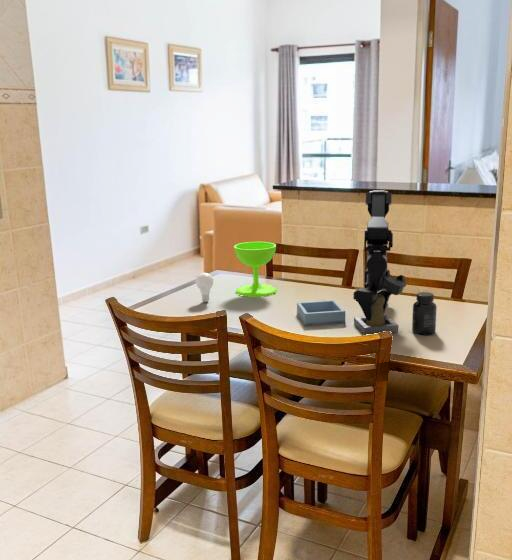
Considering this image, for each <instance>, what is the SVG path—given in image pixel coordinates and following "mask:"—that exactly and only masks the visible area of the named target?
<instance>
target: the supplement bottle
mask: <svg viewBox="0 0 512 560" xmlns="http://www.w3.org/2000/svg"><path fill="white" fill-rule="evenodd" d="M437 310H438V308H437V304H436V303H435V301H434V293H431V292H429V291H421V292H420V291H419V292H417V293H416V301H415V302H414V303H413V305H412V317H411V318H412V320H411V321H412V323H411V331H412V333H413V334H415V335H417V336H424V337H425V336H427V337H428V336H433V335H434V334H436V330H437V329H436V328H437Z"/></svg>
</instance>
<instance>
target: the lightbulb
mask: <svg viewBox="0 0 512 560" xmlns="http://www.w3.org/2000/svg"><path fill="white" fill-rule="evenodd" d="M195 284H196V287H197V288H198V289H199V292H200V294H201V301H202V302H203V303H209V301H210V293H211V292H210V291H211V289H212V287H213V285H214V278H213V276H212V275H211V274H210V273H209V272H201V273H199V274H198V275H197V276H196V278H195Z"/></svg>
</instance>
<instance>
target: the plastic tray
mask: <svg viewBox="0 0 512 560" xmlns="http://www.w3.org/2000/svg"><path fill="white" fill-rule="evenodd" d="M296 314H297V316H298V317H299V319H300V321H301V322H302V323H303V324H304V326H305V327H309V326H311V327H312V326H325V325H336V324H337V325H338V324H340V325H341V324H346V310H345V308H343V307H342V306H341V305H340V303H338V302H337V301H336V300H335V299H331V300H330V299H329V300H318V301H316V300H315V301H303V302H302V301H301V302H296Z"/></svg>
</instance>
